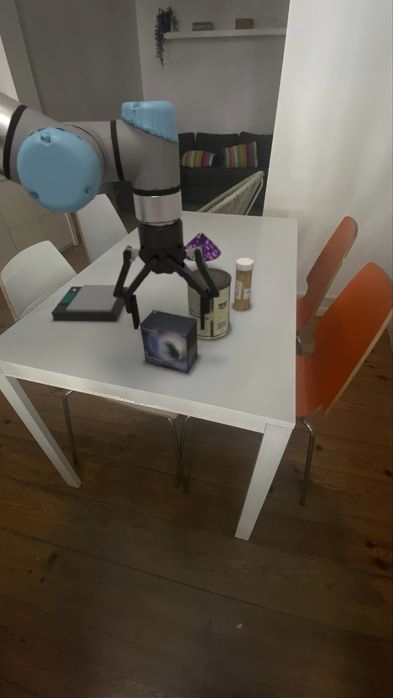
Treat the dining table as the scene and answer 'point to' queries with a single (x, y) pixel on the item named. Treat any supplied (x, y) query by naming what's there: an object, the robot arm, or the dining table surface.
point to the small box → (170, 340)
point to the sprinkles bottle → (243, 283)
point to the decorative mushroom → (204, 247)
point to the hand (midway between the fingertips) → (169, 326)
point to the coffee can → (212, 306)
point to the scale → (89, 304)
